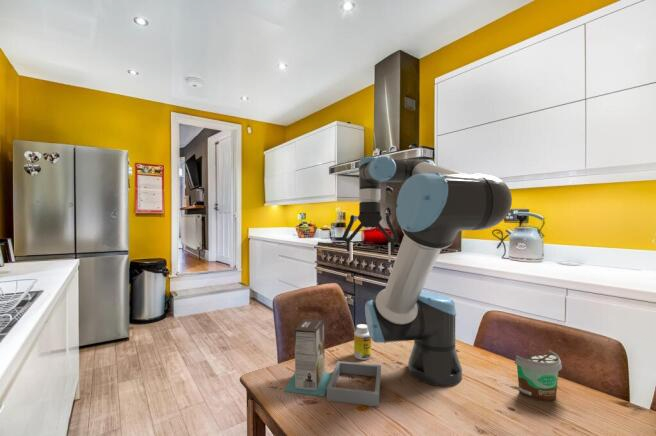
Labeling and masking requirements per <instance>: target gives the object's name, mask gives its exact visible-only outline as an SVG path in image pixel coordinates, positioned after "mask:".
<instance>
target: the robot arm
mask: <svg viewBox="0 0 656 436" xmlns="http://www.w3.org/2000/svg"><path fill="white" fill-rule="evenodd" d="M358 163H359V164H358V165H359V166H358V176H359V177H358V180H359V181H358V184H359V186H358V187H359V192H358V197H359V201H360V202H358V203H359V204H358V205H359V208H358V209H359V213H358V215H353V214H352V215H350V218H349V219H350V220H349V223H348V224H347V226H346V229H345V231H344V233H343V235H342V237H341V241H343V242H345V243H346V251H347V252H349V262H353V260H354V259H353V258H354V256H353V255H354V254H353V251H354V250H353V248H354V246H353V245H354V244H353V242H351V241H352V240H353V239H354V238H355V237H356V236H357V234H359V232H360V230H361V229H362V228H365V229H368V228H372V229H373V228H378V230H380V232H381V233H382V234H383V235H384V236H385V238H386V239H387V240H388V241H389V242H388V243H387V247H388V248H387V249H388V255H387V256H388V257H387V258H388V263H391V259H392V258H391V256H392V255H391V253H394V252H395V243H397V242H399V241H400V238H399V236H398V235H397V234H398V233H397V232H396V231H395V230H396V229H395V228H394V226H393V224H392V222H391V218H390V217H391V216H390V215H389V214H386V215H382V213H381V209H382V208H381V202H380V201H381V183H403V184H402V186H401V188H400V190H399V192H398V195H397V199H396V205H397V207H396V208H395V215H396V221H397V223H398V225H399V227H400V230H401V231H402V233H403V237H402V240H401V243H400V246H399V248H398V252H397V254H396V257H395V260H394V263H393V266H392V269H391V272H390V275H389V276H388V279H387V283H386V286H385V288H384V289H381V290H380V291H379V292H378V293H377V295H376V297H375V300H373V299H370V300H367V301H366V302H365V305H364V313H365V315H364V316H365V323H366V325H367V328H368V332H369V335H370V337H371V341H372V342H374V343H377V344H380V343H383V344H386V343H397V342H408V341H409V342H410V341H413V347H412V350H411V352H410V355H409V358H408V367H407V368H408V372H409V373H410V375H411V376H412V377H414V378H415V379H416V380H418V381H420V382H422V383H424V384H425V383H426V384H429V385H433V386H439V387H448V386H453V385H458V383H460V382H461V381H462V380H463V368H462V365H461V362H460V360H459V356H458V353H457V348H456V316H457V313H456V304H455V302H454V300H453V299H452V298H451V297H448V296H447V295H443V294H439V293H435V292H429V291H423V289H424V287H425V284H426V282H427V280H428V278H429V276H430V274H431V272H432V270H433V268H434V265H435V264H436V262H437V259H438V257H439V255H440V253H441V250H443V249H446V248H448V247H451V246H452V244H453V243H454V241H455V239H456V237H457V236H458V233H459V232H460V231H462V232H463V231H483V230H487V229H491V228H493V227H495V226H497V225H499V224H500V223H501V222H503V221H504V219H505V218H507V216H508V214H509V213H510V211H511V207H512V205H513V204H512V203H513V197H512V192H511V190H510V188H509V186H508V185H507V184H506V182H504V180H502V179H500V178H498V177H496V176H493V175H489V174H485V173H484V174H483V173H479V172H478V173H477V172H475V173H464V172H460V171H458V170H454V169H451V168H447V167H445V166H444V167H443V166H440V165H437V164H435V162H434V161H433V160H432V159H431V160H430V159H423V158H421V159H411V158H410V159H406V158H391V157H390V156H387V155H382V156H378V157H375V156H366V157H365V156H364V157H362V158H360V159H359V162H358ZM357 220H358V221H359V223H360V224H359V225H358V226H357V227H356V228H355V230H354V231H353V232H352V233H351V234H350V236H349V237H348V235H349V233H350V231H351V229H352V227H353V226H354V223H355V222H357ZM382 220H383V221H384V222H386V224H387V226H388V228H389V230H390V231H391V234H392V236H393V237H394V238H393V237H392V236H391V235H390V234H389V232H387V231H386V229H385V228H384V227H383V226H382V225H381V221H382Z"/></svg>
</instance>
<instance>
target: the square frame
mask: <svg viewBox="0 0 656 436" xmlns="http://www.w3.org/2000/svg"><path fill="white" fill-rule="evenodd" d="M332 371H333V372H332V373H333V374H332V376H331V379H330V382H329V384H328V387H327V391H326V401H328V402H336V403H347V404H353V405H362V406H369V407H377V408H379V407H380V395H381V394H380V393H381V384H382V365H380V364H373V363H372V364H370V363H360V362H352V361H351V362H350V361H339V360H337V361H336V364H335V366H334V369H333V370H332ZM340 374H347V375H355V376H356V375H357V376H363V377H365V376H366V377H373V378H374V377H376V378H375V385H374V387H375V388H374V391H372V390H371V391H370V390H362V389H353V388H345V387H337V383H338V380H339V378H340Z"/></svg>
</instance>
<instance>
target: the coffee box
mask: <svg viewBox="0 0 656 436" xmlns="http://www.w3.org/2000/svg"><path fill="white" fill-rule="evenodd" d="M325 358H326V357H325V319H313V318H308V319H307V318H304V319H303V320H301V322H300V323H299V325H298V326H297V327H296V328H295V329H294V374H295V388H296V389H305V390H314V391H317V390H318V388H319V385H320V383H321V381H322V379H323V376H324V374H325V373H326V371H325V368H326V367H325V361H326V360H325Z"/></svg>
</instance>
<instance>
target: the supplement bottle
mask: <svg viewBox="0 0 656 436" xmlns="http://www.w3.org/2000/svg"><path fill="white" fill-rule="evenodd" d="M353 334H354V335H353V338H354V339H353V340H354V341H353V343H354V344H353V347H354V349H353V353H354V355H353V356H354V357H355V359H358V360H362V361H363V360H369V359H370V358H371V356H372V339H371V337H370V335H369V332H368V328H367V323H366V324H364V323H363V324H362V323H360V324H356V330H354V333H353Z"/></svg>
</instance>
